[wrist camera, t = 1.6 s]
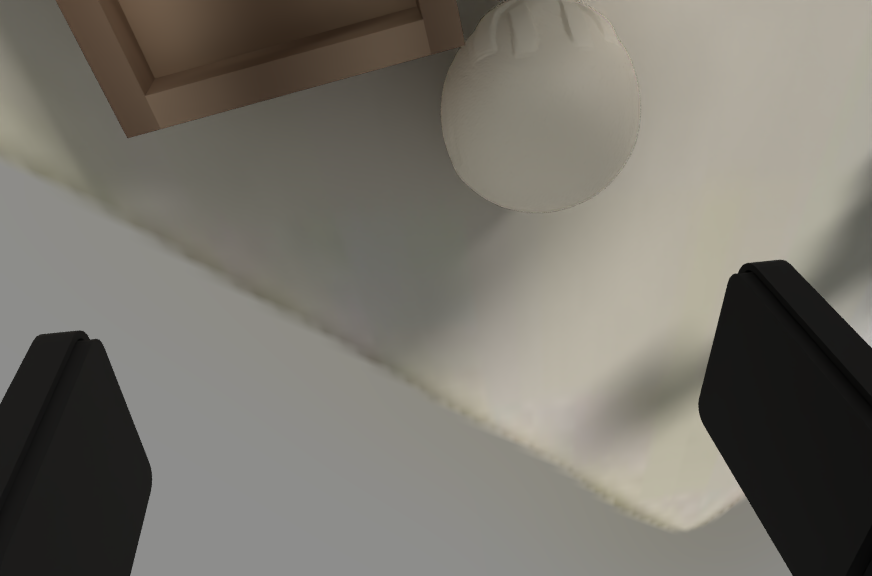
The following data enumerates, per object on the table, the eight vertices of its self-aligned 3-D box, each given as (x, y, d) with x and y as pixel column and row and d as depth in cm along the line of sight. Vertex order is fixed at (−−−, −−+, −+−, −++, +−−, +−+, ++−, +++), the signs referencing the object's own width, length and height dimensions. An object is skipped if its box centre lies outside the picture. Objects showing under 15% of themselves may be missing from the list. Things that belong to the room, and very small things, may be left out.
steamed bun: (609, -37, 26) (687, 10, 20) (596, 152, 30) (658, 233, 24) (422, -18, 25) (450, 35, 20) (435, 171, 29) (462, 258, 24)
